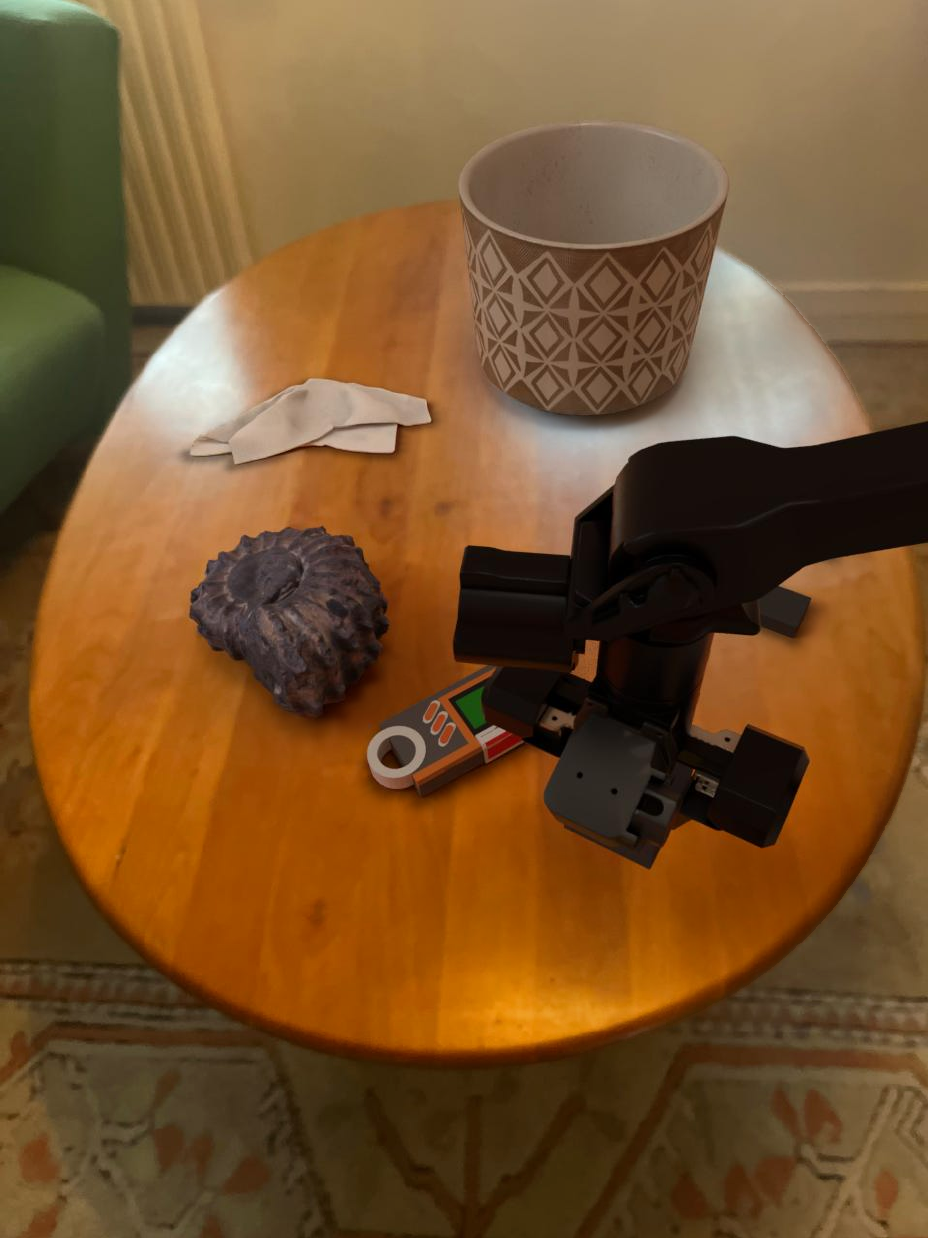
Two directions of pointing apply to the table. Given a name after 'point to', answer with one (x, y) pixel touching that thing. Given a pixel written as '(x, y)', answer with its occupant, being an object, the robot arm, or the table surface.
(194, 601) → the seashell
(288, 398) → the cloth
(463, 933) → the table surface
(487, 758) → the electronic device
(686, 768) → the dark grey square block
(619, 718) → the robot arm
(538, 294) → the planter
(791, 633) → the flat black pad
